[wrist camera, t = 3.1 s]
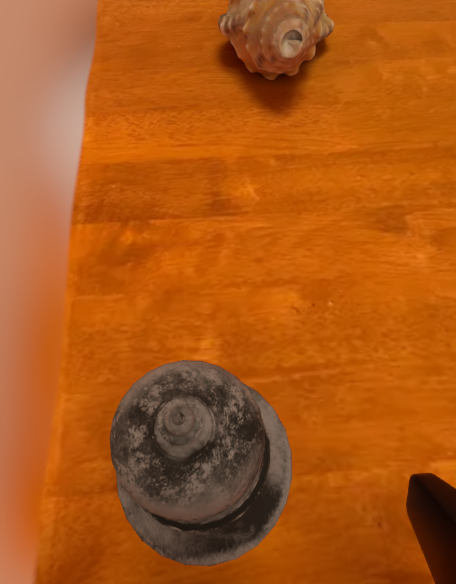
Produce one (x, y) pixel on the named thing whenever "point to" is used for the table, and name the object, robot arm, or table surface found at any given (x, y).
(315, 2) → the seashell
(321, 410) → the table surface
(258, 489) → the chess piece
